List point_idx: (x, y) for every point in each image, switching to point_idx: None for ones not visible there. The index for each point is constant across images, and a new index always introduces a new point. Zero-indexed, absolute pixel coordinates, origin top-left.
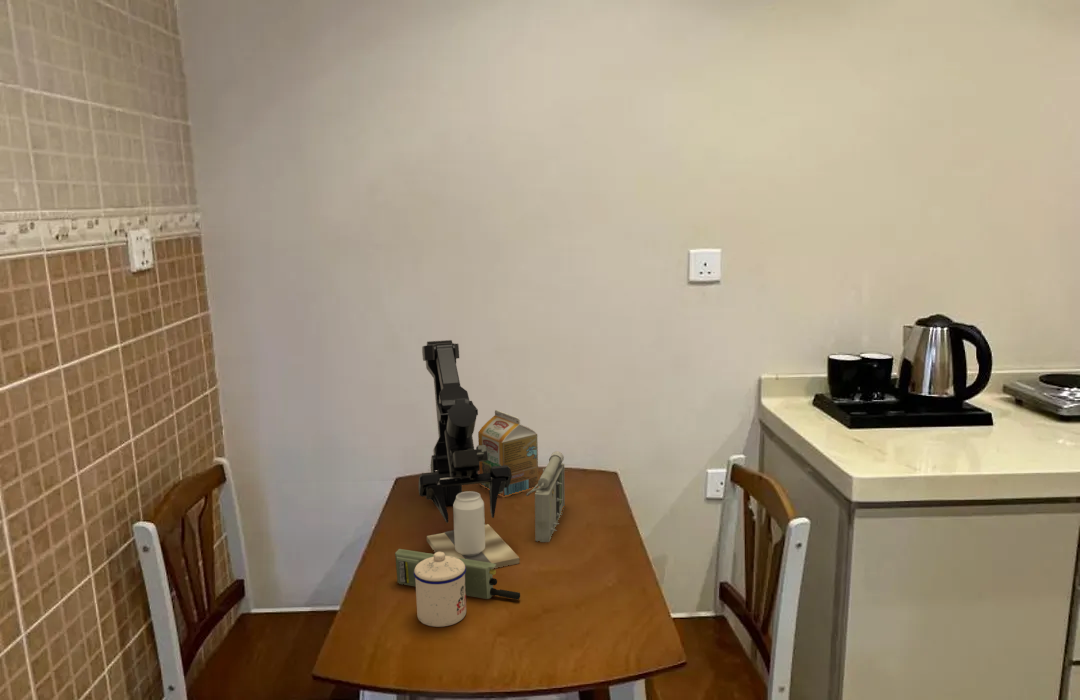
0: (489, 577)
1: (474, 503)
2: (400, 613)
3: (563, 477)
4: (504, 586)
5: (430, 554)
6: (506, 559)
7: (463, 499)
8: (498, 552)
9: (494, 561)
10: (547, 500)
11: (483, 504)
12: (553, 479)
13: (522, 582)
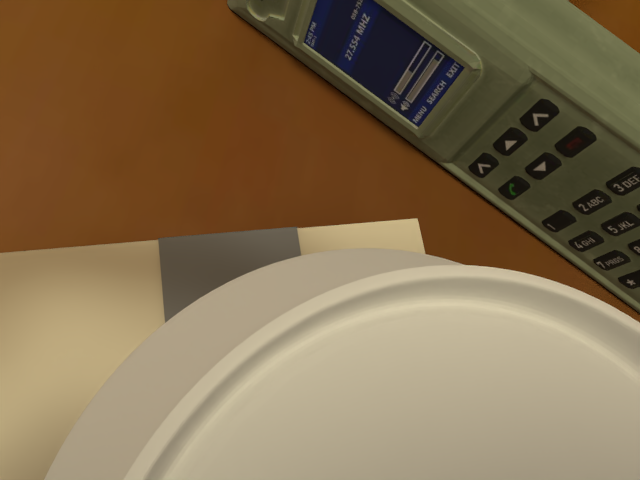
0: None
1: (332, 280)
2: (623, 22)
3: None
4: (148, 42)
5: (638, 95)
6: (27, 264)
7: (630, 450)
8: (43, 401)
9: (125, 261)
10: None
11: (61, 451)
12: None
13: (30, 41)
